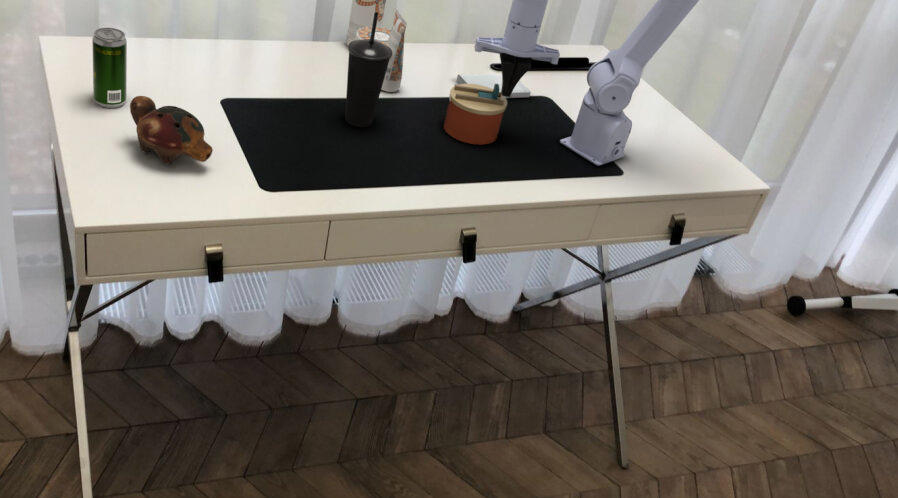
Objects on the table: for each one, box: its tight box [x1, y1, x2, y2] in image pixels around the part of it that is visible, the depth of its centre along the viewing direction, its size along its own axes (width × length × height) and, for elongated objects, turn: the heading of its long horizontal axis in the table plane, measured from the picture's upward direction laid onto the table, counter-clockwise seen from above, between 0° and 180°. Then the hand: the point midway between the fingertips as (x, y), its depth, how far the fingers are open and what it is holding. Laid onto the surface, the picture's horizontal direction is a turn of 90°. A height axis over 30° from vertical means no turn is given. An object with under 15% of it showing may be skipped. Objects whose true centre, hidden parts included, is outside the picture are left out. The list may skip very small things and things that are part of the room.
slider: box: [478, 84, 500, 100], centre depth 173 cm, size 3×2×2 cm
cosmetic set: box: [346, 0, 408, 93], centre depth 187 cm, size 25×9×19 cm, turn 18°
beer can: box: [91, 27, 128, 109], centre depth 161 cm, size 5×5×12 cm
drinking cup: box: [344, 12, 393, 128], centre depth 167 cm, size 8×8×20 cm
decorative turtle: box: [129, 95, 214, 165], centre depth 152 cm, size 10×15×8 cm, turn 68°
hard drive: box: [456, 73, 532, 99], centre depth 192 cm, size 2×8×12 cm
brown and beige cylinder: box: [443, 83, 508, 146], centre depth 175 cm, size 10×10×8 cm
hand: (505, 94), depth 173 cm, fingers closed
